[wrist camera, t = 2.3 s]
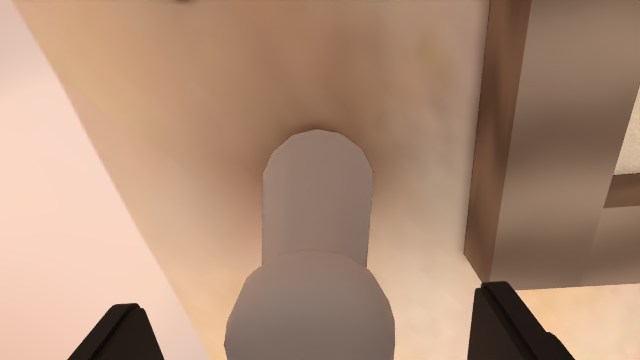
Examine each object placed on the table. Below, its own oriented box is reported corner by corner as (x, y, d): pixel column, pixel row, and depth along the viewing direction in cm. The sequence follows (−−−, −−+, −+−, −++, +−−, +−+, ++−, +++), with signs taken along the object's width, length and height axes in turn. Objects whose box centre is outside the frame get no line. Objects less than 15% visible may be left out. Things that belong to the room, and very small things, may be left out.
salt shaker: (287, 218, 21) (232, 464, 9) (257, 134, 18) (129, 311, 6) (377, 197, 20) (451, 437, 8) (357, 108, 18) (419, 253, 6)
